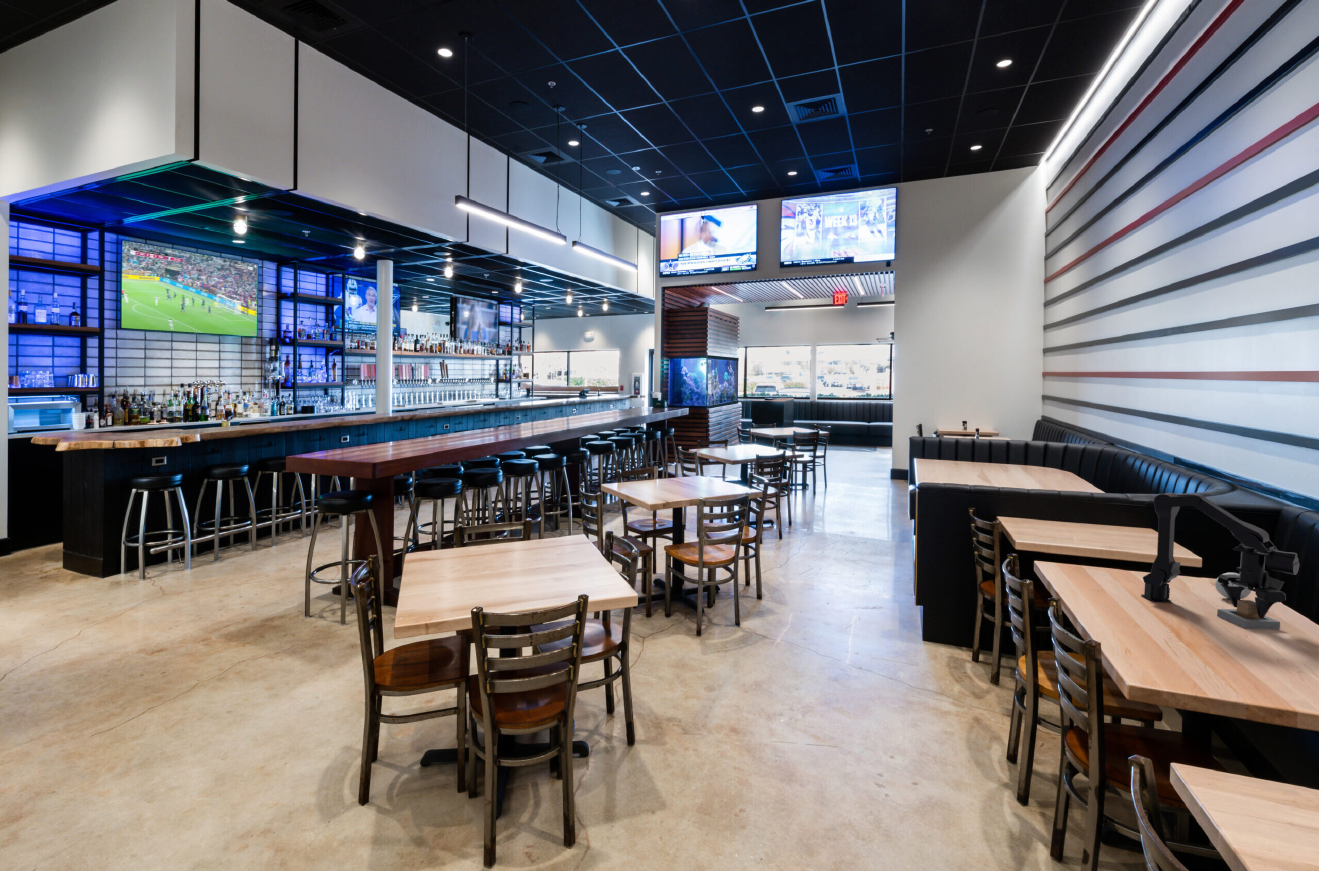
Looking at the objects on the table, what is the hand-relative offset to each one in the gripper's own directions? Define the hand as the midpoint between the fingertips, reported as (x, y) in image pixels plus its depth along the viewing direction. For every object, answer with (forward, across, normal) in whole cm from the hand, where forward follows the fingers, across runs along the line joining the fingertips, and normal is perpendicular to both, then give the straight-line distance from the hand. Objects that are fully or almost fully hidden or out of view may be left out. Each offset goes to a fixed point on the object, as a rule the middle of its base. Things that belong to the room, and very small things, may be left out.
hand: (1248, 612), depth 199 cm
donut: (+4, +23, -14) cm, 27 cm away
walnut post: (+4, 0, 0) cm, 4 cm away
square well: (+4, 0, 0) cm, 4 cm away
